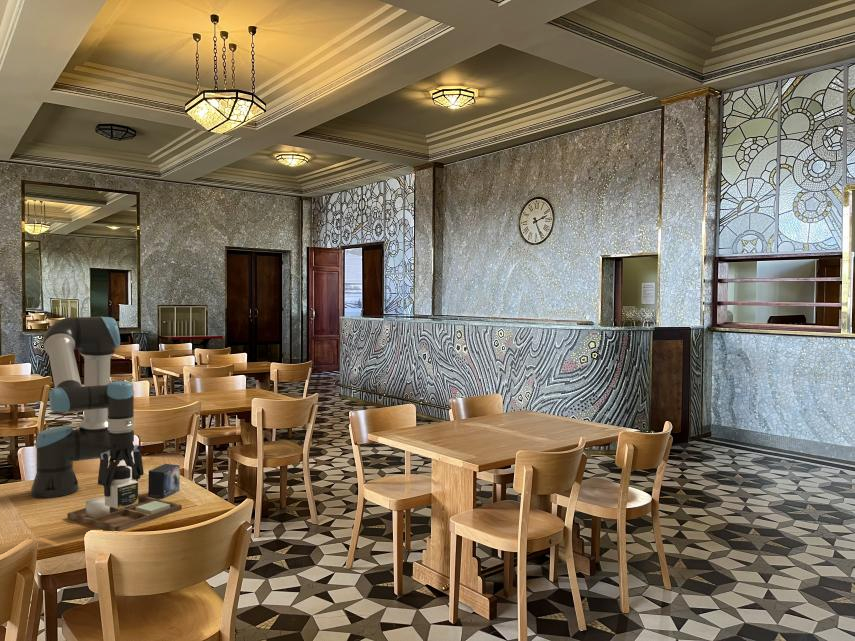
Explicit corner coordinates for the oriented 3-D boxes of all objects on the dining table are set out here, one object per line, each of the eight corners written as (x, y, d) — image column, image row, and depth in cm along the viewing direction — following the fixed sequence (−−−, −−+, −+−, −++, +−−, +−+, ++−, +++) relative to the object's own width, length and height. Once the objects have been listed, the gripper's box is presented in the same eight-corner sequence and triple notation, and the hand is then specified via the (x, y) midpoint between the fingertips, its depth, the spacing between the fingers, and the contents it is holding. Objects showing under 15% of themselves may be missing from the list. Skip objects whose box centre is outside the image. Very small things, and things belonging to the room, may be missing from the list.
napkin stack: (135, 513, 217) (135, 507, 217) (155, 506, 224) (155, 500, 224) (151, 517, 214) (151, 510, 214) (170, 510, 220) (170, 504, 220)
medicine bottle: (117, 509, 203) (117, 471, 203) (104, 505, 207) (103, 467, 207) (138, 503, 209) (138, 466, 209) (125, 499, 213) (124, 462, 213)
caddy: (67, 520, 212) (67, 513, 212) (133, 500, 233) (133, 493, 233) (116, 534, 200) (116, 527, 200) (181, 511, 221) (181, 504, 221)
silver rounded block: (81, 517, 213) (81, 501, 213) (101, 511, 219) (100, 496, 219) (94, 521, 209) (94, 505, 209) (114, 514, 216) (114, 499, 215)
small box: (163, 501, 232) (163, 472, 232) (147, 499, 234) (147, 470, 233) (180, 492, 243) (180, 464, 242) (164, 491, 244) (164, 463, 244)
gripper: (99, 437, 197) (99, 513, 198) (156, 426, 214) (156, 496, 215) (83, 435, 200) (84, 509, 201) (140, 424, 218) (141, 492, 219)
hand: (121, 502), depth 208 cm, fingers closed on medicine bottle, 7 cm apart
